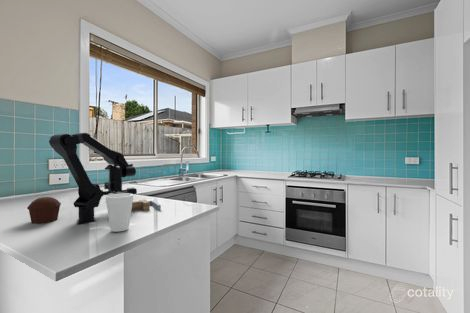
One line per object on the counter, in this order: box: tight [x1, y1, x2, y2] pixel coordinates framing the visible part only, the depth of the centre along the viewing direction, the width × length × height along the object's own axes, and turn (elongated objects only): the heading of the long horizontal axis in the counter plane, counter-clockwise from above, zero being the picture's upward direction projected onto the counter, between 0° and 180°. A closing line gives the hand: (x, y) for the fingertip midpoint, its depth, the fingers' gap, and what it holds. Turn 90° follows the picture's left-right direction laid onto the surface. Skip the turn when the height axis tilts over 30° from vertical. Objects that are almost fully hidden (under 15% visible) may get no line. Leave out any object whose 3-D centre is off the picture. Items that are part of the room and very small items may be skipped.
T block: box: [131, 199, 151, 212], centre depth 116 cm, size 9×9×4 cm
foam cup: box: [105, 193, 134, 233], centre depth 86 cm, size 10×9×13 cm
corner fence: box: [148, 199, 162, 212], centre depth 118 cm, size 16×11×3 cm
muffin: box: [26, 196, 62, 225], centre depth 97 cm, size 12×11×10 cm
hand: (115, 209), depth 110 cm, fingers closed
